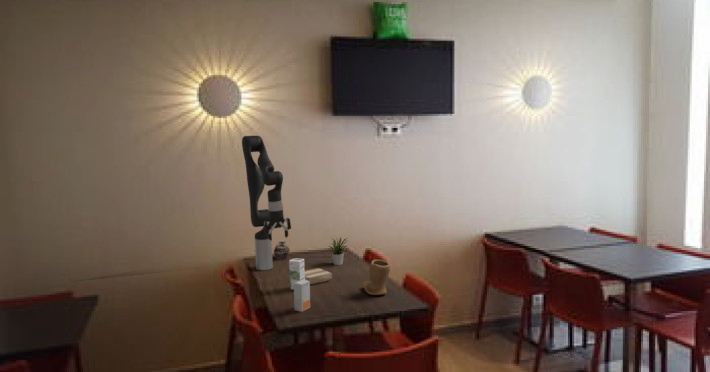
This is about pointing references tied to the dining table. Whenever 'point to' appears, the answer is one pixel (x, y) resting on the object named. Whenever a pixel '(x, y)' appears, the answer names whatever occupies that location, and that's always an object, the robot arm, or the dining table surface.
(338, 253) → the house plant
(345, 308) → the dining table surface
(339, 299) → the dining table surface
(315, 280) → the wood stand
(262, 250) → the robot arm
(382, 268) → the stone cup
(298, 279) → the syrup box
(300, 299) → the skincare box
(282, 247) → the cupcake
